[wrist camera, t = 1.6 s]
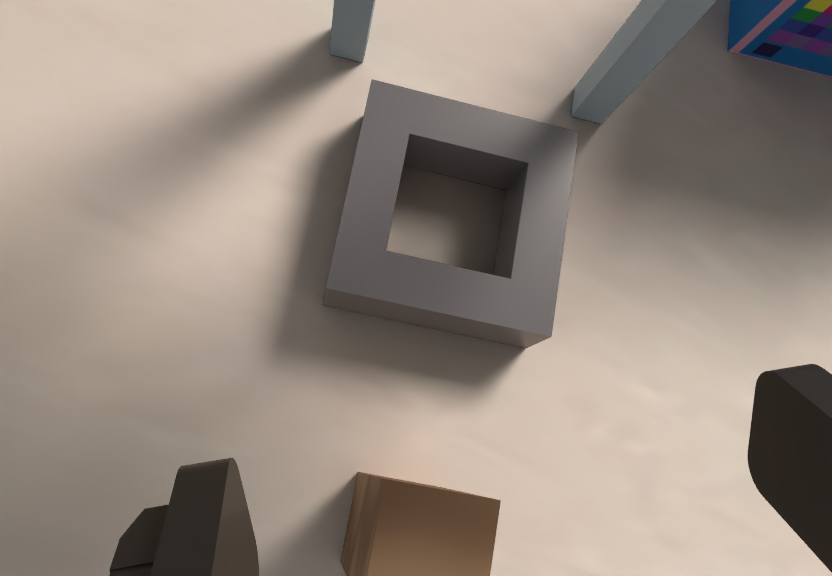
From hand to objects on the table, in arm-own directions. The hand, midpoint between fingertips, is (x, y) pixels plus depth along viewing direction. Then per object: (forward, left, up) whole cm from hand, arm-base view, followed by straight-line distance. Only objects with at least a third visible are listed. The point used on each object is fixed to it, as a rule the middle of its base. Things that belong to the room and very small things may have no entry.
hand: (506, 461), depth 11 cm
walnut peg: (+1, -4, -27) cm, 27 cm away
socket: (+9, +10, -27) cm, 30 cm away
